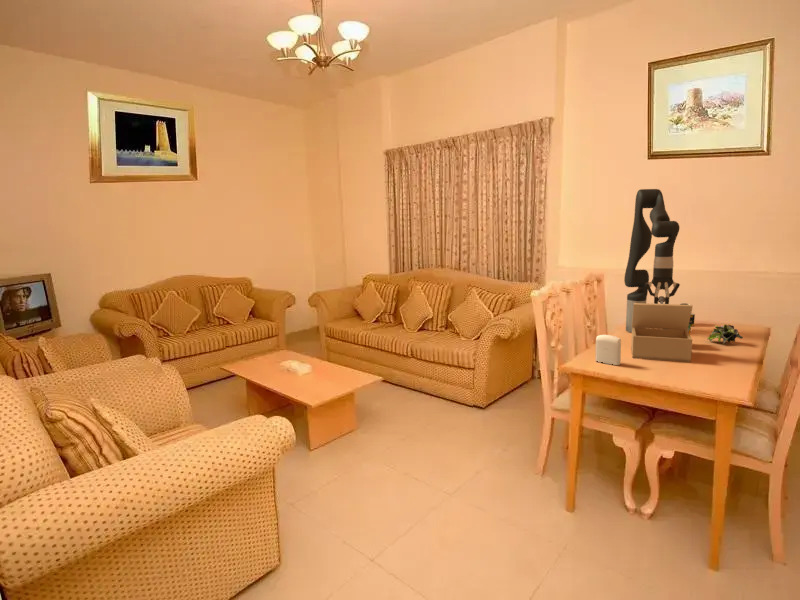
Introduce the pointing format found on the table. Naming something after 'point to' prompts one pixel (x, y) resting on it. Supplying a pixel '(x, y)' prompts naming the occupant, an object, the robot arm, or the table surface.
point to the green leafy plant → (725, 333)
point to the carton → (661, 344)
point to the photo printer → (608, 349)
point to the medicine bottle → (690, 316)
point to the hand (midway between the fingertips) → (661, 305)
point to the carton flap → (661, 315)
